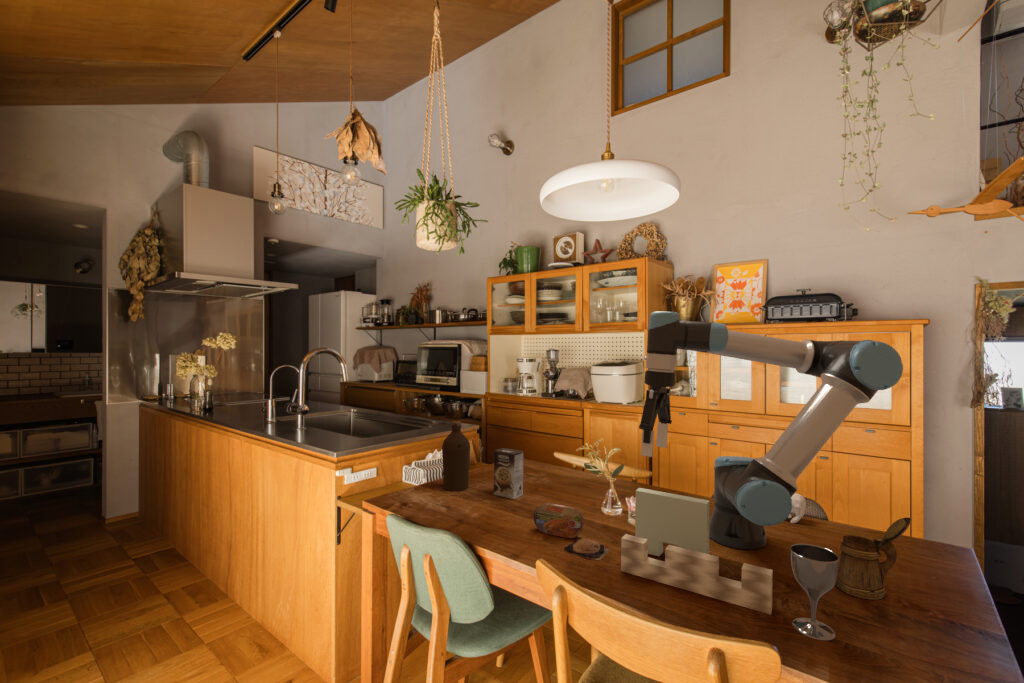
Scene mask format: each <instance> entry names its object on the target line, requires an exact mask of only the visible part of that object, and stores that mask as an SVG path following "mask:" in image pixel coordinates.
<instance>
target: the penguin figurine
mask: <svg viewBox="0 0 1024 683" xmlns="http://www.w3.org/2000/svg"><path fill="white" fill-rule="evenodd" d="M791 499H792V510H791V513H790V515H789V516H788V517H787V519H790V523H791V524H796V523H798V522H799V521H800V520H801V519H802V518H803V517H804V515H805V513H806V508H807V503H806V499H805V497H804V496H803V495H801V494H799V493H797V492H795V493H794V495H793V496H792V497H791ZM792 514H795V515H794V517H793V516H792Z"/></svg>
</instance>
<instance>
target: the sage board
mask: <svg viewBox="0 0 1024 683" xmlns="http://www.w3.org/2000/svg"><path fill="white" fill-rule="evenodd" d="M634 510H635V511H634V512H635V514H634V515H635V518H634V521H635V527H634V529H635V530H634V531H635V535H634V536H636V537H640V538H644V539H648V555H652V556H657V557H660V556H662V554H663V553H664V544H668V545H673V546H677V547H681V548H685V549H689V550H693V551H697V552H701V553H706V554H710V537H709V522H710V500H708V499H703V498H697V497H694V496H693V497H692V496H688V495H687V496H686V495H681V494H676V493H670V492H664V491H659V490H654V489H649V488H643V487H638V488H637V489H636V490H635V509H634ZM660 558H661V557H660Z"/></svg>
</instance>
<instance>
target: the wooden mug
mask: <svg viewBox="0 0 1024 683" xmlns="http://www.w3.org/2000/svg"><path fill="white" fill-rule="evenodd" d="M911 522H912V519H911V517H902V518H899V519H897V520H896V521H894V522H893V523H892V524H891V525H890V526H889V527H888V528H886V531H885V533H884V535H883V537H882V538H874V539H873V540H871V539H869V538H867V537H865V536H861V535H853V534H847V535H843V538H842V541H841V543H840V547H839V549H840V550H841V553H840V558H839V568H838V576H837V580H836V583H835V585H834V586H836V587H837V588H838V589H839V590H841V591H842V592H844V593H846V594H847V595H849V596H853V597H855V598H859V599H863V600H869V601H870V600H871V601H873V600H874V601H879V600H882V599H883V598H885V596H886V588H885V586H884V582H885V578H886V576H887V574H888V572H890V571H891V569H892V568H893V566H895V564H896V562H897V559H898V552H897V548H896V547H895V545H894V544H893V542H894V541H896V540H898V539H899V538H900V537H901V536H903V534H904V533H905V532H906V531H907V530H908V528H909V527H910V525H911ZM880 551H881V552H884V554H885V555H886V559H885V560H884V561H882V562H880V558H881V557H882V553H881V552H880Z"/></svg>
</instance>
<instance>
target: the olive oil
mask: <svg viewBox="0 0 1024 683" xmlns="http://www.w3.org/2000/svg"><path fill="white" fill-rule="evenodd" d="M461 422H462V421H461V420H453V421H451V432H449V434H448V436H447V435H446V436H447V437H445V439H444V440H443V442H442V446H441V450H442V451H441V455H442V457H441V458H442V478H443V479H442V480H443V481H442V482H443V489H444V490H446V491H448V492H460V491H464V490H467V489H468V488H469V481H470V480H469V479H470V478H469V477H470V475H469V474H470V458H471V457H470V456H471V444H470V441H469V439H468V438H467V436H466V435H465V434H464V433H463V432H462V429H461V428H462V424H461Z"/></svg>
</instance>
